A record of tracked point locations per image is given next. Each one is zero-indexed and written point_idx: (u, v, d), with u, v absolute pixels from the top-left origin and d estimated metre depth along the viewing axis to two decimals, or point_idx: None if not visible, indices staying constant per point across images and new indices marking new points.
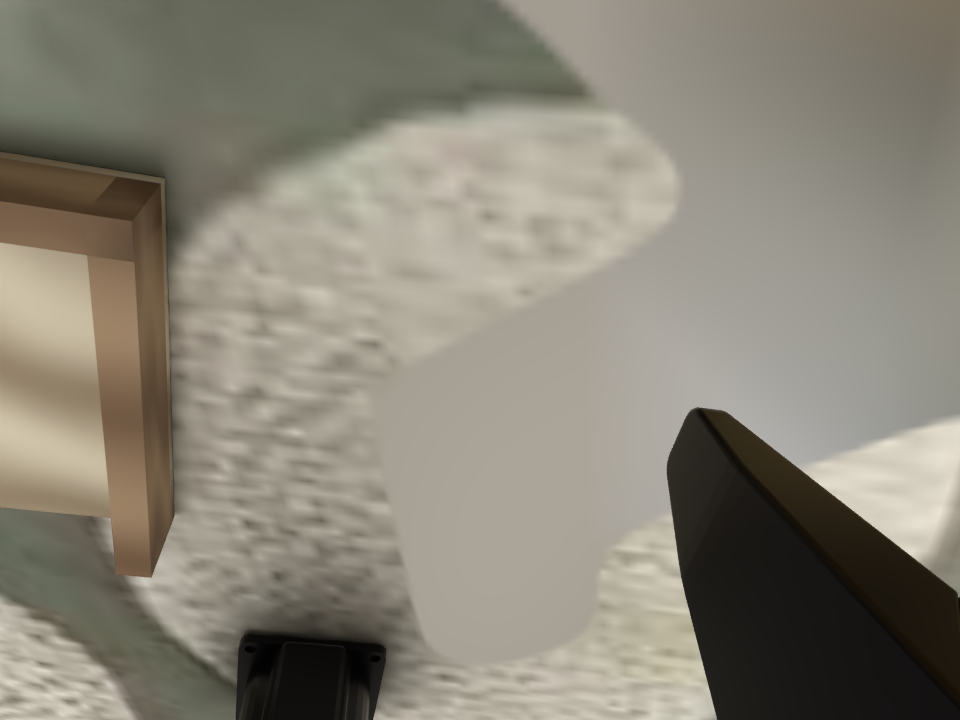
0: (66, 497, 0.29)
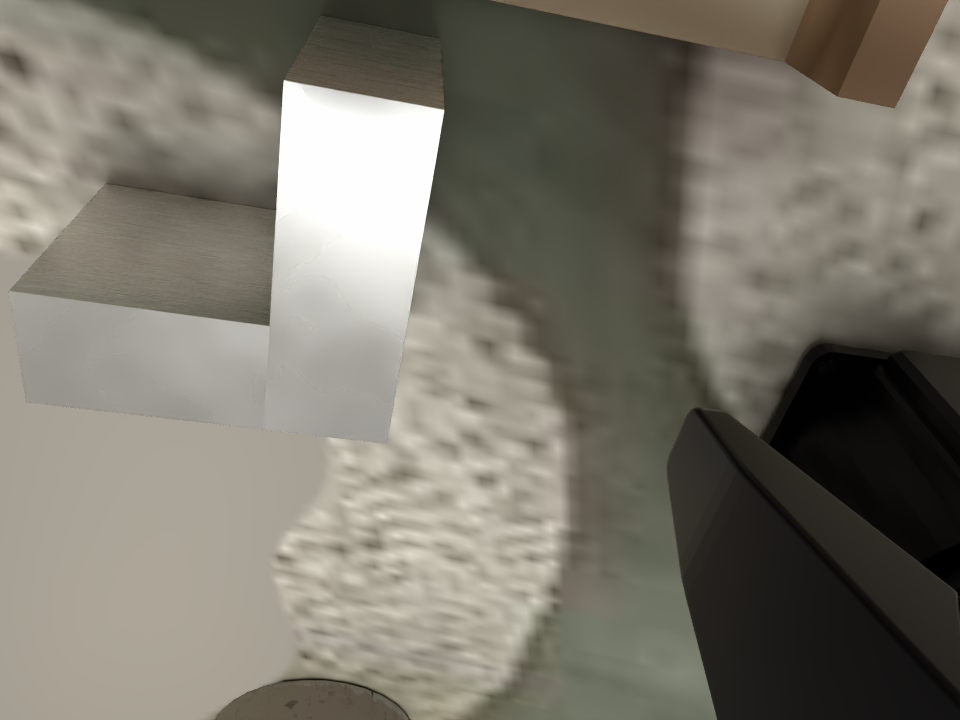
0: None
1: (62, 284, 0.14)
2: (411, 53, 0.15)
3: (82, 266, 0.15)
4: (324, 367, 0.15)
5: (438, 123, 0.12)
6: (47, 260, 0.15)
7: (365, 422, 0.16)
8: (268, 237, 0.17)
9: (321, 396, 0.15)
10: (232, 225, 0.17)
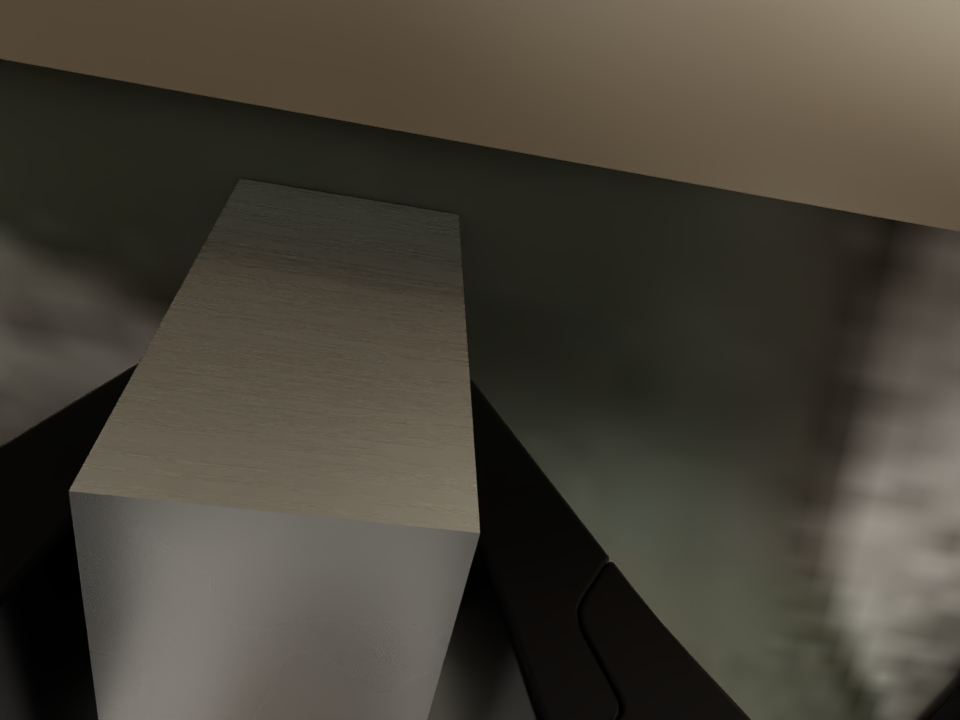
0: (920, 143, 0.08)
1: None
2: (404, 278, 0.08)
3: None
4: None
5: (464, 556, 0.05)
6: None
7: None
8: None
9: None
10: None
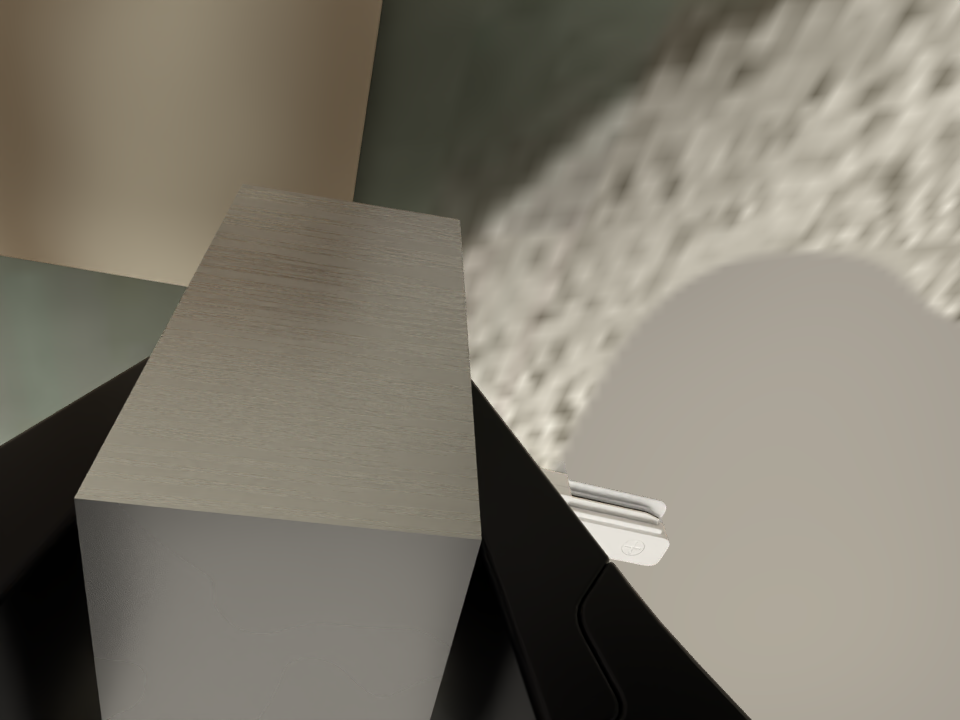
0: None
1: None
2: (406, 284, 0.08)
3: None
4: None
5: (466, 562, 0.05)
6: None
7: None
8: None
9: None
10: None
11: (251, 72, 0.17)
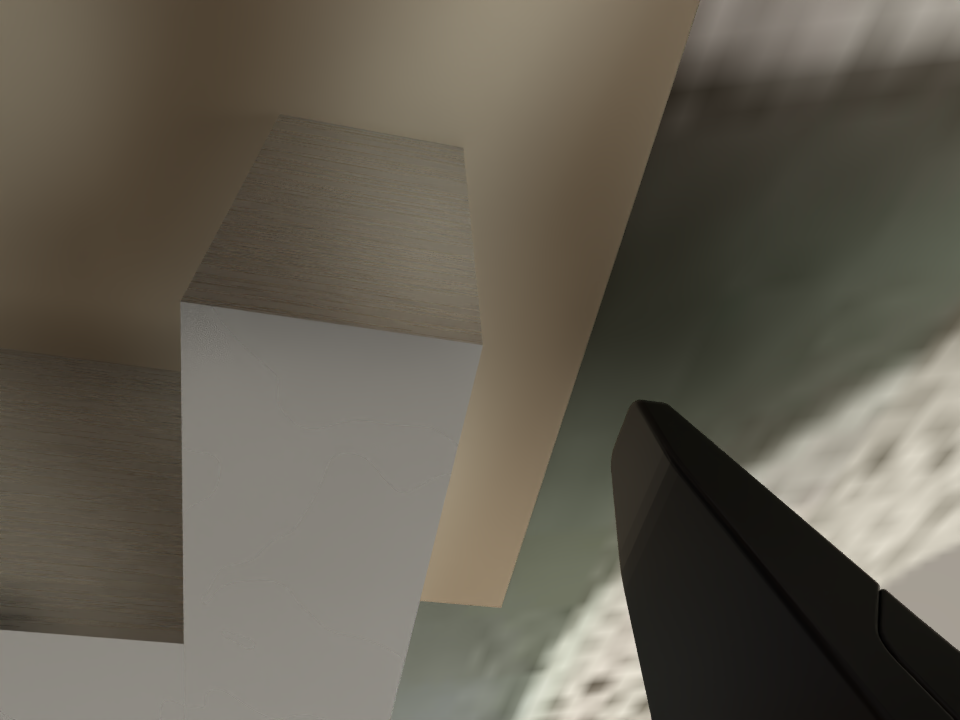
0: (595, 124, 0.11)
1: None
2: (420, 188, 0.09)
3: None
4: (276, 690, 0.09)
5: (471, 366, 0.07)
6: None
7: None
8: None
9: None
10: (152, 414, 0.12)
11: None
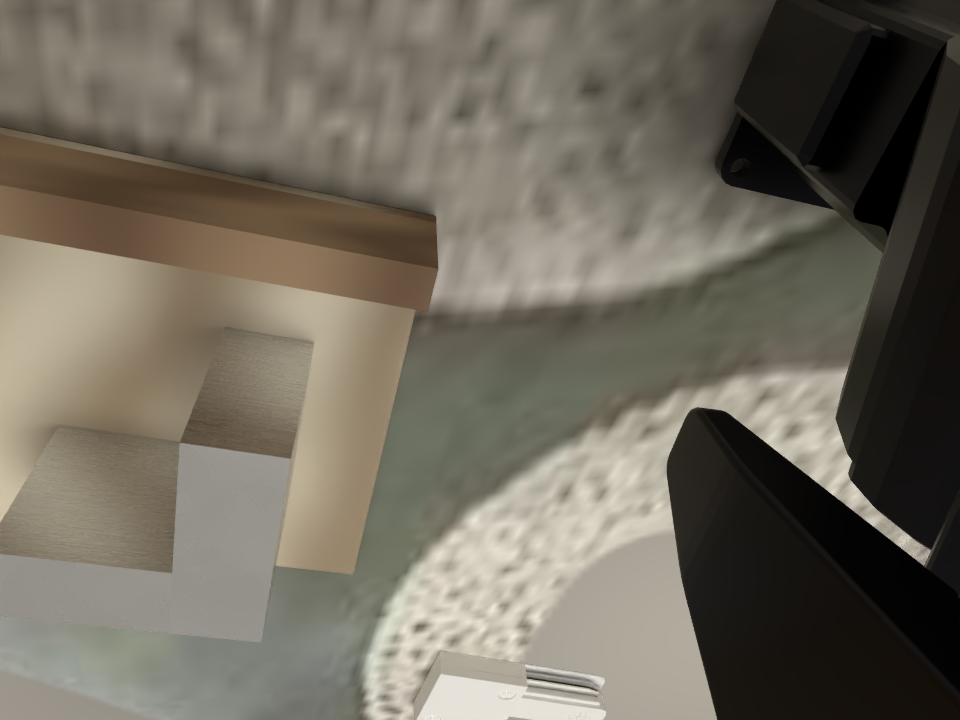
0: (378, 334, 0.22)
1: (22, 541, 0.20)
2: (285, 374, 0.21)
3: (37, 520, 0.20)
4: (212, 596, 0.21)
5: (287, 465, 0.18)
6: (11, 516, 0.20)
7: (244, 629, 0.22)
8: None
9: (211, 614, 0.21)
10: (155, 464, 0.23)
11: (299, 443, 0.24)
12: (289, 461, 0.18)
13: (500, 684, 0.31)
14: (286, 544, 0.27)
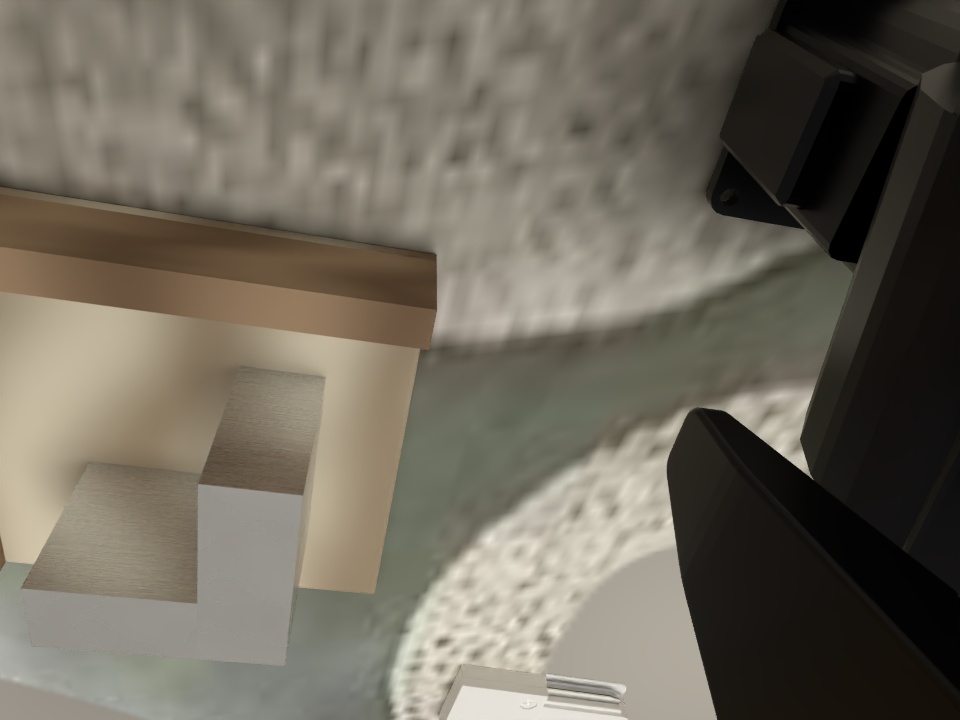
0: (386, 367, 0.23)
1: (56, 577, 0.21)
2: (297, 411, 0.22)
3: (71, 556, 0.22)
4: (236, 624, 0.22)
5: (299, 502, 0.19)
6: (46, 553, 0.21)
7: (268, 654, 0.23)
8: None
9: (235, 640, 0.22)
10: (180, 497, 0.24)
11: (316, 471, 0.25)
12: (301, 497, 0.19)
13: (521, 695, 0.32)
14: (309, 567, 0.28)
